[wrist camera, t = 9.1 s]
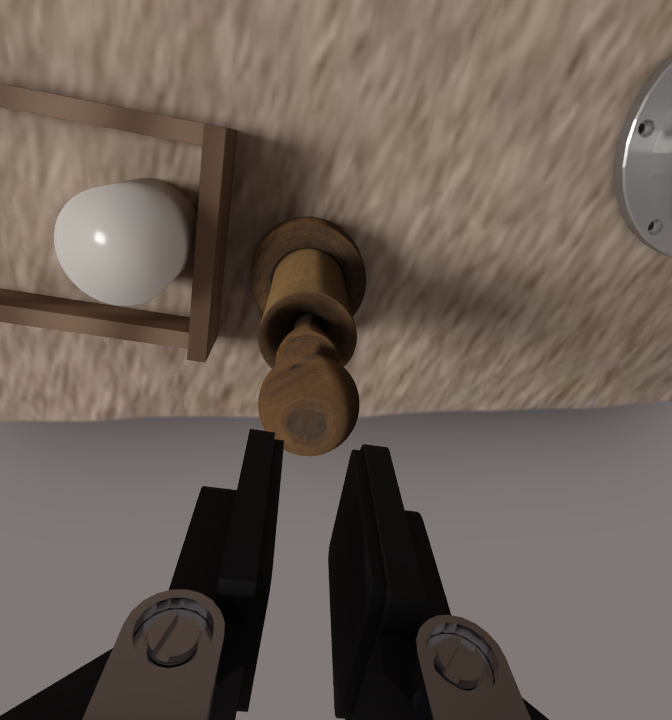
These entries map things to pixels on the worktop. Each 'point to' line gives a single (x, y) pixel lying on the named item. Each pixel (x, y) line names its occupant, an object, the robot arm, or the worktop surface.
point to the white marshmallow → (126, 239)
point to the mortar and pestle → (308, 332)
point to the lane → (208, 247)
